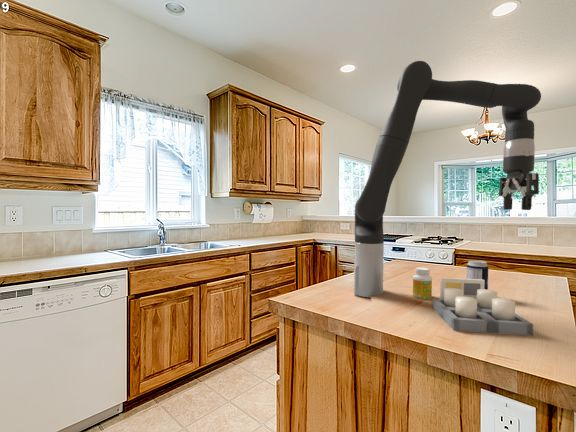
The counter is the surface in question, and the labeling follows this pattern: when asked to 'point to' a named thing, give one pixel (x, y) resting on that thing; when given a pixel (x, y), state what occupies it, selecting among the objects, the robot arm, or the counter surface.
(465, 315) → the button front left
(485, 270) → the beverage can
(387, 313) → the counter surface
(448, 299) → the button back left
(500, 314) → the button front right
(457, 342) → the counter surface
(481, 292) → the button back right
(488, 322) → the button board
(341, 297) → the counter surface
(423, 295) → the supplement bottle
